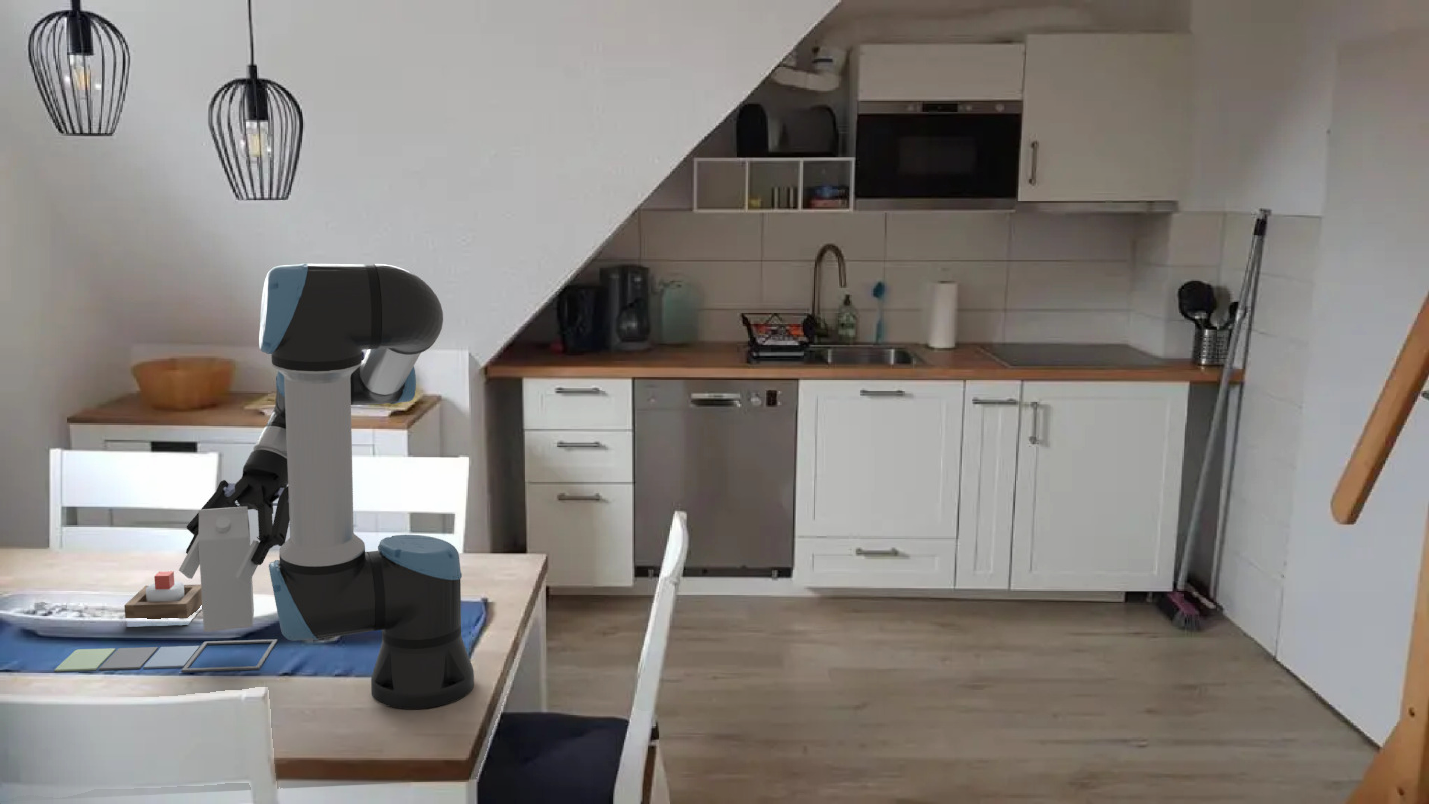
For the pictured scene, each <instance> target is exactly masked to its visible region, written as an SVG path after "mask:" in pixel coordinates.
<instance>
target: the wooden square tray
mask: <svg viewBox="0 0 1429 804" xmlns="http://www.w3.org/2000/svg"><path fill="white" fill-rule="evenodd" d="M148 586H149V585H145V586H144V587H143V588H142V589H140V590H139V591H138V592H137V593H136V594H135V595H134V596H132V597H131V599H129V601H127V602H126V603H125V604H124V606H123V607H124V618H147V619H161V618H188V617H189V616H190V615H192V614H193V613H194V612H196V611H197V610H198V609H199V608H200V606H201V605H202V592H201V583H200V584H184V597H183V598H182V599H181V600H180V601H160V602H147V599H146V588H147V587H148Z"/></svg>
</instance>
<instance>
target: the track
mask: <svg viewBox="0 0 1429 804" xmlns="http://www.w3.org/2000/svg"><path fill="white" fill-rule="evenodd" d="M277 642H278V639H248V640H246V639H245V640H217V641H216V640H212V641H204V642H203V643H201V645H179V646H176V645H175V646H160V647H158V646H152V647H151V646H150V647H149V646H148V647H120V648H117V649H116V648H115V647H114V648H113V647H111V648H84V649H83V648H82V649H75V650H74V651H73V652H72V653H70V655H69V656H67V658H65V659H64V660H63V661H62V662H61V663H60V664H59V665H58V666H56V667H55V669H54V672H77V671H78V672H79V671H80V672H81V671H82V672H83V671H97V669H98V671H108V670H109V671H111V670H139V669H141V668H143V669H169V668H170V669H173V668H176V669H177V668H181V673H186V672H188V673H189V672H190V673H191V672H192V673H193V672H215V671H216V672H219V671H224V672H225V671H245V670H246V671H247V670H249V671H250V670H252V671H253V670H254V671H255V670H260V669H261V668H262V667H263V664H264V663H265V662H266V660H267V658H268V657H269V655H270V653H271V652H272V650H273V649H274V647H275V646H276V644H277ZM263 643H264V644H268V643H269V646H268V648H267V649H266V651H265V652H264V653H263V655H262V657H261V658H260V660H259V661H258V663H257V665H251V666H249V665H248V666H246V665H245V666H224V667H223V666H219V667H217V666H216V667H193V668H191V666H192V664H193V663H194V662H195V660H196V659H197V658H198V657H199V656H200V654H201V653H202V652H203V650H204V649H206V647H207V645H233V644H234V645H235V644H236V645H237V644H240V645H241V644H242V645H243V644H263Z"/></svg>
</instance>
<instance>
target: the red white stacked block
mask: <svg viewBox="0 0 1429 804" xmlns="http://www.w3.org/2000/svg"><path fill="white" fill-rule="evenodd" d="M174 573H175V571H173V570H172V571H158V572H157V573H156V574H155V575H154V583H152V584H150V585H147V586H148V587H147V588H146V599H147V602H160V601H180V600H181V599H182V598H183V597H184V585H185V584H184V583H183V582H181V581H178V580H175V574H174Z"/></svg>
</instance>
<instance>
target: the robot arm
mask: <svg viewBox="0 0 1429 804" xmlns="http://www.w3.org/2000/svg"><path fill="white" fill-rule="evenodd" d="M261 296H262V297H261V303H260V304H261V305H260V316H259V333H258V340H259V341H258V345H259V350H260V352H262V353H265V354H267V355H271V365H272V367H273V368H274V369H275V370H277V374H276V377H275V379H276V380H275V386H276V387H275V388H276V391H275V394H276V395H275V402H274V403H275V405H274V409H273V411H272V413H271V415H270V417H269V419H268V420H267V423H266V425H265V426H264V428H263V430H262V432H261V433H260V435H259V437H258V439H257V441H256V442H255V445H254V446H253V451H252V452H250V454H249V456H248V457H247V460H246V461H245V463H244V466H243V468H242V476H241V478H240V479H238V480H237V482H236V483H233V482H231V483H230V482H228V481H227V480H226V479H223V480H221V481H220V482H219V484H218V485H217V488H216V490H215V492H214V493H213V494H212V496H211V497H210V498H209V499H208V500H207V501H206V503H204V505H203V506H202V508H201V509H200V510H203V509H217V508H232V507H246V506H247V507H248V510H254V511H257V522H258V524H257V525H258V536H256V538H257V540H252V542H251V543H250V548H249V550H248V552H247V554H246V556H245V558H244V560H243V562H242V564H241V566H240V568H239V570H238V572H237V574H236V576H235V577H236V578H237V579H238V580H239V581H240V582H241V583H242V584H243V585H249V582H250V580H251V578H252V579H253V576H254V575H255V573H256V571H257V568H258V566H261V565H262V564H263V563H264V561H265V560H266V557H267V555H268V554H269V551H270V549H272V548H273V547H274V546H279V552H278V553H279V554H278V555H279V557H278V558H279V560H278V559H275V560H273V561H271V562H269V564H268V569H269V570H268V571H269V575H270V576H269V577H270V580H271V581H270V582H271V586H272V590H273V591H272V592H273V597H274V601H275V602H274V603H275V607H276V612H277V617H278V621H279V626H280V627H279V628H280V631H281V634H282V636H283V637H284V638H286V640H289V641H292V642H293V641H295V642H296V641H305V640H306V641H307V640H313V641H318V640H320V639H326V638H332V637H333V638H334V637H341V636H348V635H355V634H361V633H363V634H364V633H368V632H376V631H381V645H380V649H379V652H378V655H377V658H376V660H375V665H374V668H373V671H372V675H371V679H370V684H371V686H370V687H371V696H372V697H373V699H374V700H375V701H377V702H378V703H380V704H382V705H384V706H387V707H390V708H391V707H393V708H395V709H396V708H397V709H407V710H408V709H409V710H410V709H411V710H412V709H413V710H415V709H416V710H418V709H429V708H436V707H441V706H444V705H448V704H451V703H453V702H456V701H459V700H460V699H462V698H464V697H466V696H467V695H469V693H470V692H471V691H472V690H473V688H474V685H475V678H474V677H475V673H474V666H473V665H472V662H471V661H472V660H471V659H470V656H469V654H468V651H467V648H466V645H465V642H464V641H463V640H464V639H463V637H462V597H461V595H462V593H461V590H462V589H461V586H462V585H461V584H462V583H461V579H462V576H463V575H462V571H461V563H460V562H461V561H460V554H459V551H458V549H457V548H456V546H454V545H453V544H452V543H451V542H449V541H446V540H445V539H441V538H437V537H433V536H428V535H419V534H397V535H396V534H395V535H392V536H386V537H384V538H382V539H381V540H380V542H379V544H378V546H377V550H373V551H366V545H365V542H364V540H363V539H361V538H360V537H359V536H358V535H356V534H355V531H354V500H353V499H354V493H353V492H354V491H353V486H354V485H353V449H352V448H353V445H352V444H353V442H352V441H353V440H352V439H353V438H352V437H353V436H352V435H353V434H352V433H353V432H352V406H358V405H359V406H360V405H361V406H363V405H364V406H365V405H382V404H384V405H385V404H386V405H387V404H389V405H395V404H398V403H407V402H411V401H413V400H414V398H415V396H416V389H417V378H416V369H415V364H416V363H417V361H418V360H419V357H420V356H421V354H422V353H424V352H426V351H427V350H429V349H430V348H431V347H432V346H433V345H434V344H435V343H436V341H437V339H439V336H440V335H441V331H442V330H443V324H444V312H443V308H442V304H441V302H440V300H439V297H438V295H437V294H436V293H435V291H433V289H432V288H431V287H430V285H428V284H427V283H426V282H425V281H424V280H423V279H421V278H420V277H419V276H417V275H415V274H414V273H412V272H410V271H408V270H407V269H404V268H401V267H399V266H395V265H392V264H391V265H390V264H387V263H386V264H385V263H384V264H382V263H373V264H355V263H354V264H347V263H346V264H345V263H343V264H342V263H341V264H339V263H305V262H303V263H300V264H299V263H297V264H284V265H282V264H281V265H277V266H274V267H271V269H270V270H269V271H268V272H267V274H266V275H265V279H264V284H263V288H262V295H261ZM363 350H366V353H365V355H364V358H362V357H363V356H362V352H363ZM362 359H363V360H362ZM276 501H277V505H276V507H275V514H274V502H276ZM236 502H237V504H236ZM273 514H274V517H273ZM186 529H187V530H188V531H189V533H191V534H192V535H193V537H192V539H191V541H190V542H189V544H188V547H186V551H185V554H186V555H185V558H184V559H183V561H182V563H181V565H180V566H179V569H178V571H179V572H180V573H182V575H184V576H185V577H186V578H187V579H189V580H190V579H193V578H194V576H195V574H196V572H197V570H198V568H200V559H199V542H198V533H199V511H198V512H197V513H196V515H195V516H194V517H192V520H191V521H190V522H189V523H188V524H187V525H186ZM288 530H289V538H288V539H287V534H288ZM258 540H259V541H258Z"/></svg>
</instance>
